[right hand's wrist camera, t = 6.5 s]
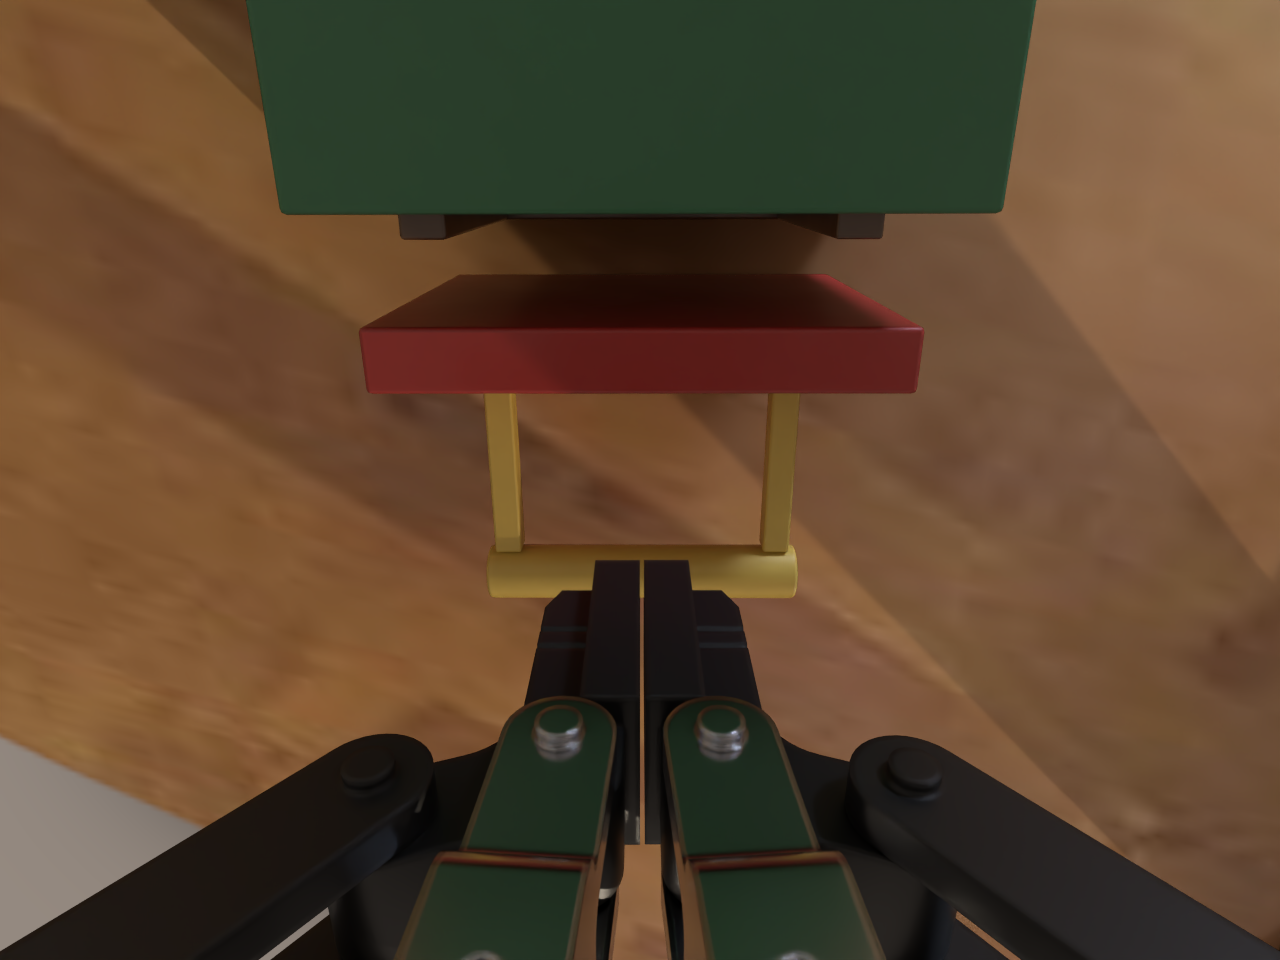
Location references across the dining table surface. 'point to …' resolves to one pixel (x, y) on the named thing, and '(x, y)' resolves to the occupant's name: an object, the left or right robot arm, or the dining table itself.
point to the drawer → (641, 376)
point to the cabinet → (640, 105)
